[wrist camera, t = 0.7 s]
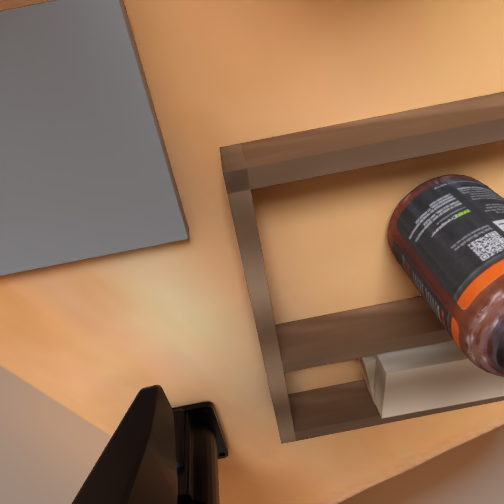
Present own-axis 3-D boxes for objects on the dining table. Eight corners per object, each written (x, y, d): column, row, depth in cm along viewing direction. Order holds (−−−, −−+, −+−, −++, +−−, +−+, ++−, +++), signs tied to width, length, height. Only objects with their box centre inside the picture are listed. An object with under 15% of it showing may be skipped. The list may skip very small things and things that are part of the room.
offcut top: (502, 375, 29) (516, 393, 28) (373, 398, 29) (381, 418, 28) (518, 329, 27) (534, 346, 26) (376, 354, 26) (386, 373, 25)
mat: (188, 228, 23) (188, 238, 22) (-17, 269, 23) (-25, 280, 22) (119, -13, 17) (115, -11, 16) (-162, 43, 17) (-180, 47, 16)
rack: (569, 348, 32) (601, 380, 29) (274, 406, 32) (281, 443, 29) (675, 58, 21) (740, 71, 18) (219, 147, 21) (223, 172, 18)
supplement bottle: (440, 276, 27) (573, 446, 17) (363, 242, 25) (466, 414, 15) (511, 196, 24) (715, 345, 15) (431, 151, 22) (608, 290, 13)
